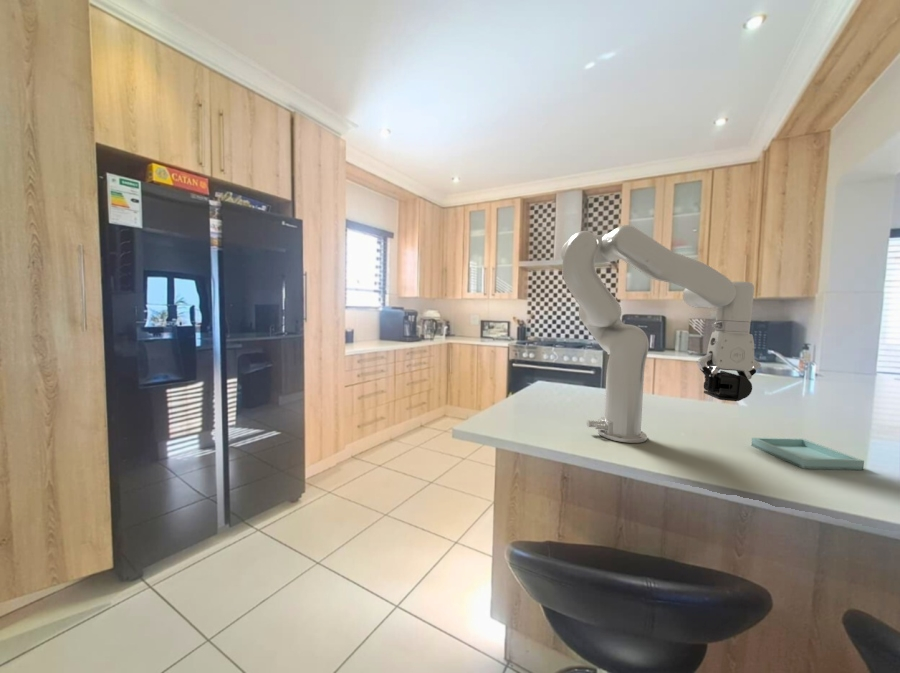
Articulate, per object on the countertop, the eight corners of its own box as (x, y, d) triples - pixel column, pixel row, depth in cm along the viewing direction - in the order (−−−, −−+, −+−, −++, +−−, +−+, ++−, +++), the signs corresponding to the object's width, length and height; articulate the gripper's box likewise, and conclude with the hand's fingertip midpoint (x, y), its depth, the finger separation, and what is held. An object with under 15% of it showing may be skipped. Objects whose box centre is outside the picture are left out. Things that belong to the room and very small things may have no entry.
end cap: (751, 403, 94) (754, 377, 94) (720, 400, 96) (723, 374, 95) (729, 394, 104) (732, 371, 104) (702, 392, 106) (704, 369, 105)
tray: (803, 468, 84) (804, 459, 83) (751, 445, 98) (752, 437, 98) (863, 470, 84) (864, 460, 83) (802, 446, 98) (802, 438, 98)
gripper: (709, 327, 95) (703, 393, 96) (776, 330, 95) (769, 396, 96) (690, 325, 103) (684, 387, 104) (752, 328, 103) (746, 390, 104)
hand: (725, 391), depth 100 cm, fingers closed on end cap, 8 cm apart
